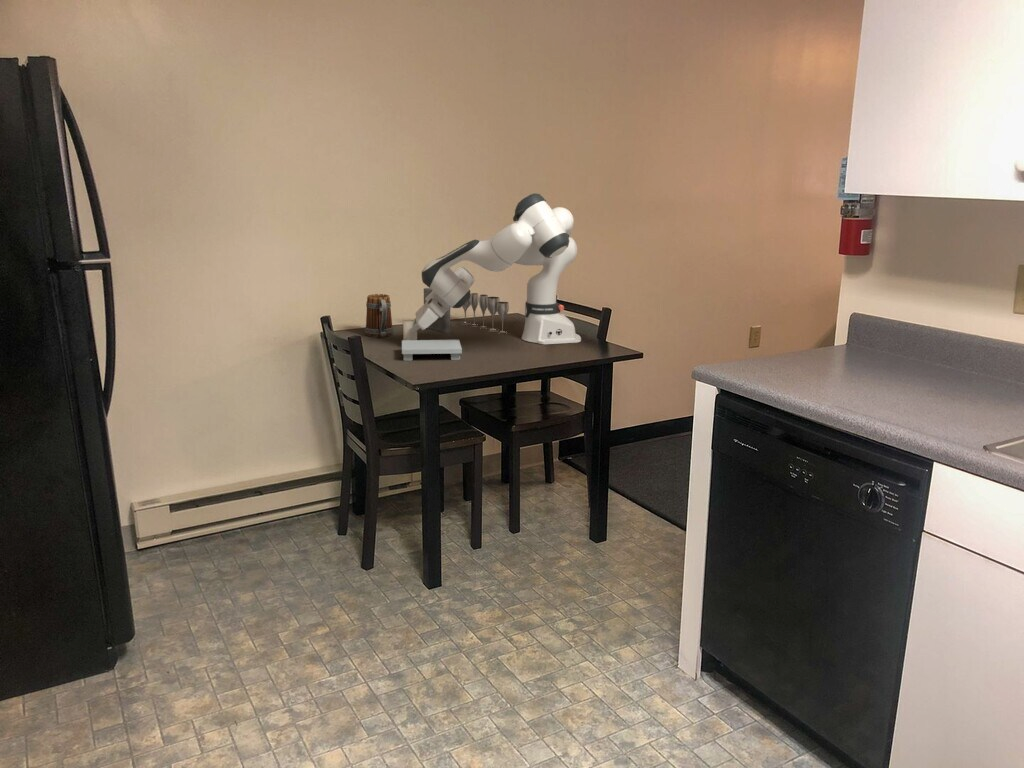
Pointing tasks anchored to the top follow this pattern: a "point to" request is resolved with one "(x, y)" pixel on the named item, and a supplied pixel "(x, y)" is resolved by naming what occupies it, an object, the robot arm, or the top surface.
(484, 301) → the goblet set
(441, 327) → the flask
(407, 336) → the white rounded cylinder
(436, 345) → the shelf
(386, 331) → the mug
